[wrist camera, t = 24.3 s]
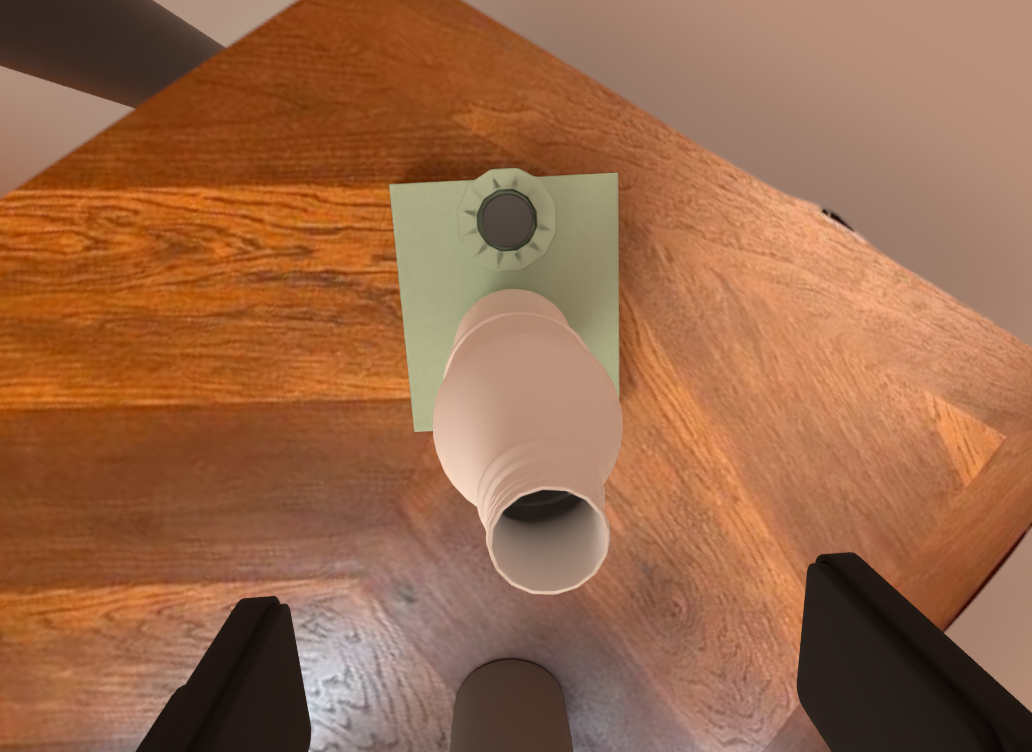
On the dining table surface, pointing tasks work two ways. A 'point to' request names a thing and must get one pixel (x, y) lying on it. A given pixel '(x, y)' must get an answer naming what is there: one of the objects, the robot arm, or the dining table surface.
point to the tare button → (507, 220)
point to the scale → (503, 264)
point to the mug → (510, 711)
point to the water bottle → (530, 439)
